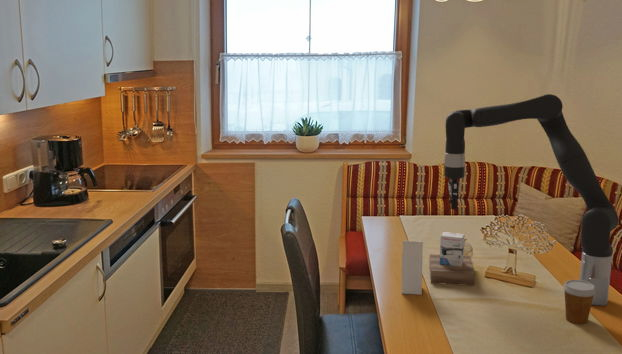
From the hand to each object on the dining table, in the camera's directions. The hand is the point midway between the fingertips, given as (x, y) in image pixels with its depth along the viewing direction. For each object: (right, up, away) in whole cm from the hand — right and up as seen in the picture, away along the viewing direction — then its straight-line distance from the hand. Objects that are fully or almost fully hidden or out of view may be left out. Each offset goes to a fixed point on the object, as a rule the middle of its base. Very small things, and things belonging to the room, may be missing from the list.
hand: (453, 206), depth 216 cm
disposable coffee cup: (+32, -35, -33) cm, 58 cm away
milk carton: (-17, -31, -8) cm, 36 cm away
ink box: (0, -23, +4) cm, 23 cm away
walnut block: (+1, -27, +6) cm, 28 cm away
